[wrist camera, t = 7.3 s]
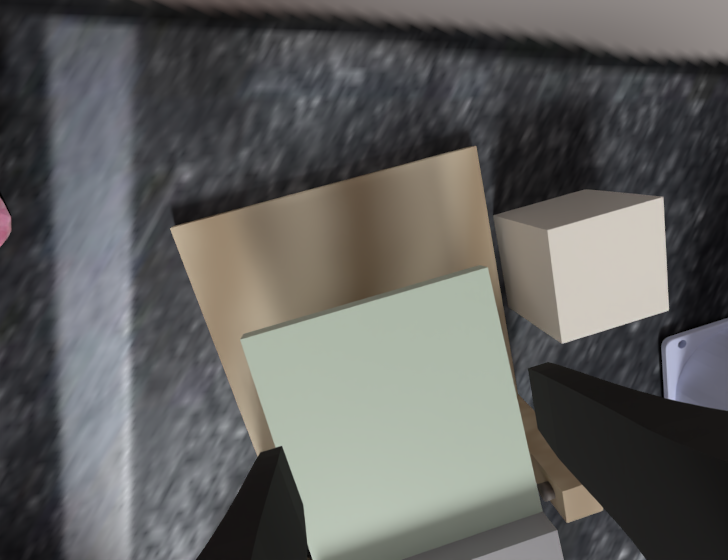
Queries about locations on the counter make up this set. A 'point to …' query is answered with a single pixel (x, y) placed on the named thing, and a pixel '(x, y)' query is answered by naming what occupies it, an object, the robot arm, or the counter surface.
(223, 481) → the counter surface
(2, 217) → the flower
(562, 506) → the stand
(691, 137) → the counter surface
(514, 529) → the trapdoor
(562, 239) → the cream cube
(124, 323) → the counter surface
